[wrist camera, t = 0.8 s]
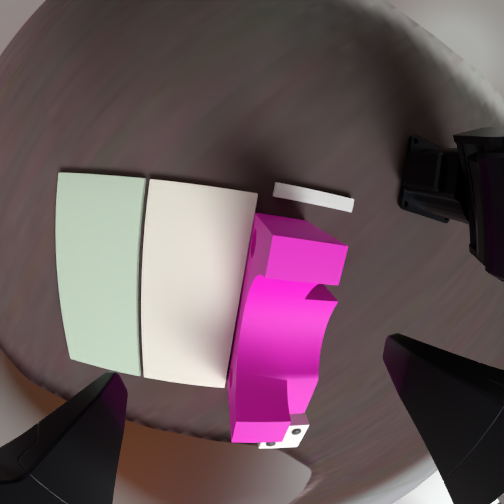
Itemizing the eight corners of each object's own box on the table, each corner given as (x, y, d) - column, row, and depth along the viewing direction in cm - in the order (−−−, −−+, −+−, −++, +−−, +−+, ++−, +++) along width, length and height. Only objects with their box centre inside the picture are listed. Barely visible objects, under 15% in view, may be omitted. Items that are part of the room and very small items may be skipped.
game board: (351, 198, 19) (354, 199, 19) (294, 394, 24) (295, 397, 24) (63, 159, 16) (60, 159, 16) (74, 363, 21) (72, 366, 20)
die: (299, 396, 25) (309, 425, 21) (289, 419, 26) (297, 447, 22) (261, 396, 24) (267, 427, 20) (254, 419, 25) (258, 449, 21)
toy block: (292, 380, 24) (313, 439, 17) (227, 377, 23) (231, 442, 16) (334, 225, 20) (388, 252, 13) (253, 212, 19) (273, 235, 12)
